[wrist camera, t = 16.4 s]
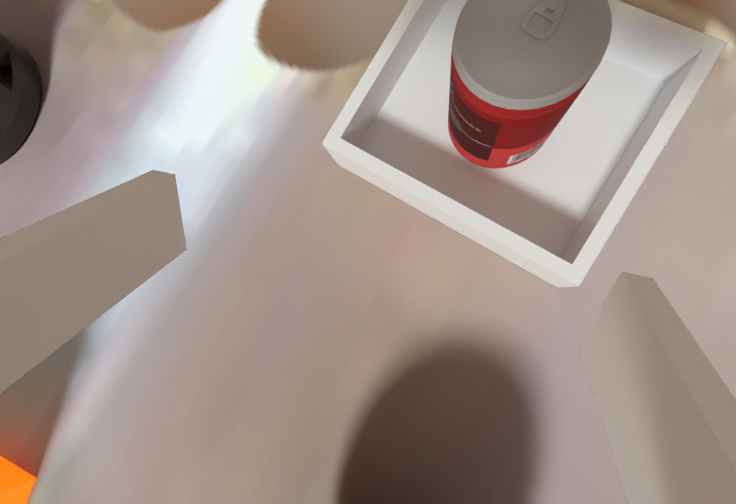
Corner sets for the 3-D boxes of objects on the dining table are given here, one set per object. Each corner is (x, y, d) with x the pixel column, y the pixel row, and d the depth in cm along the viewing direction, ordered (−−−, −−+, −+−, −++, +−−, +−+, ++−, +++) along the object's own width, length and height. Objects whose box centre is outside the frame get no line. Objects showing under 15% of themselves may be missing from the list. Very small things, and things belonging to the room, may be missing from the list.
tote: (338, 165, 34) (322, 143, 29) (447, -13, 34) (448, -66, 29) (555, 287, 29) (578, 286, 25) (679, 84, 29) (727, 42, 24)
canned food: (565, 91, 30) (638, -23, 19) (526, 186, 30) (577, 124, 19) (470, 63, 31) (487, -57, 21) (432, 154, 31) (429, 79, 20)
